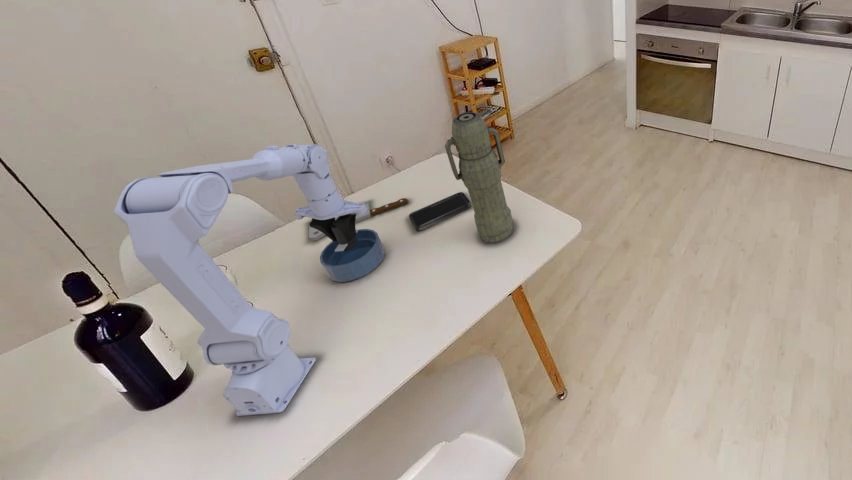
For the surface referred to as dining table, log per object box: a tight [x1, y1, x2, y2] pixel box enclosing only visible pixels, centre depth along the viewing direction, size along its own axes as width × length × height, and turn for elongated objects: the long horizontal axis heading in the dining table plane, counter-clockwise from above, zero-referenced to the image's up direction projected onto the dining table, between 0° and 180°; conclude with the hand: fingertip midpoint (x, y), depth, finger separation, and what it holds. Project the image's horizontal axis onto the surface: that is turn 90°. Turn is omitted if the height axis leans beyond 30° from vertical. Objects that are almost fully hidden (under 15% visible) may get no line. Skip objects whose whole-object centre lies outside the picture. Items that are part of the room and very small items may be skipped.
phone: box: [408, 191, 472, 232], centre depth 115 cm, size 8×1×15 cm
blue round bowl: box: [319, 228, 386, 283], centre depth 99 cm, size 12×12×6 cm
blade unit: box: [330, 220, 359, 252], centre depth 95 cm, size 6×4×7 cm, turn 3°
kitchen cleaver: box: [308, 197, 409, 242], centre depth 115 cm, size 24×1×10 cm
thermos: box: [444, 111, 515, 245], centre depth 100 cm, size 9×12×35 cm
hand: (345, 237), depth 96 cm, fingers closed on blade unit, 3 cm apart
